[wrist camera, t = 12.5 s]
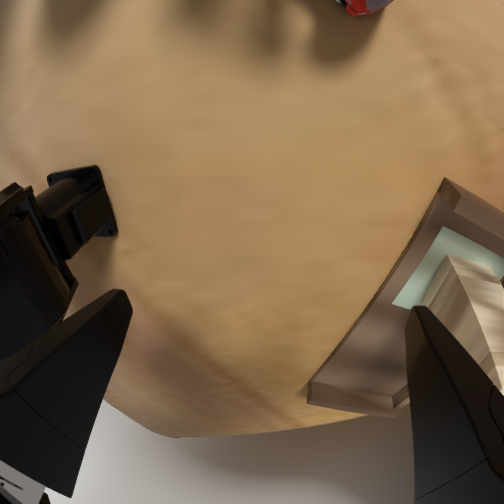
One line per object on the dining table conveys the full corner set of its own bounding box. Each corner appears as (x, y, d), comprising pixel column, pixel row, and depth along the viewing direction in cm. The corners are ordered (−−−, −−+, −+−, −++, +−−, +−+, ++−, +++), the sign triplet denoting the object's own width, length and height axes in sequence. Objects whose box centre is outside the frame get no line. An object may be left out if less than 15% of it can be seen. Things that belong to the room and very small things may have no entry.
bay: (392, 397, 33) (394, 417, 30) (308, 381, 33) (306, 403, 30) (535, 236, 17) (551, 256, 15) (444, 177, 17) (461, 195, 15)
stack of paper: (419, 301, 23) (449, 432, 13) (446, 253, 20) (502, 387, 10) (463, 309, 22) (499, 426, 13) (490, 265, 19) (548, 384, 10)
